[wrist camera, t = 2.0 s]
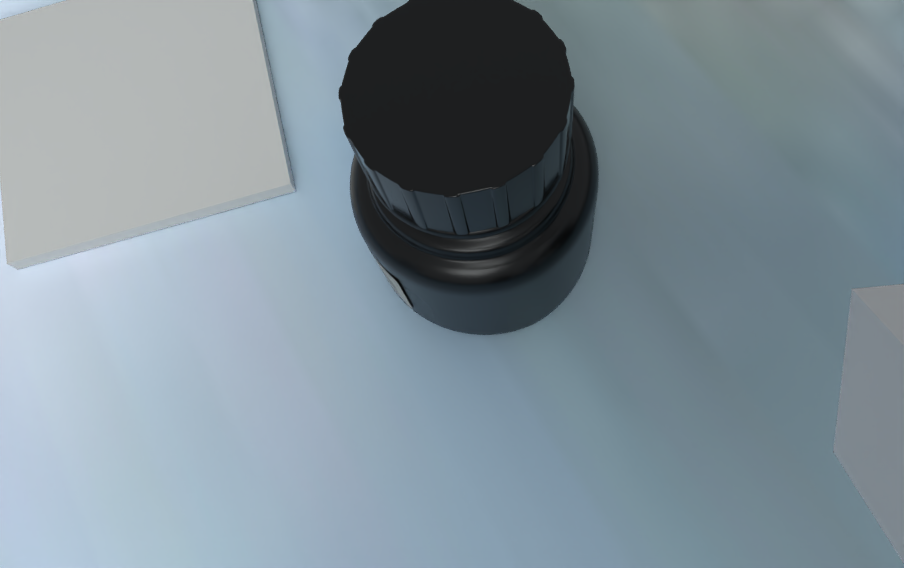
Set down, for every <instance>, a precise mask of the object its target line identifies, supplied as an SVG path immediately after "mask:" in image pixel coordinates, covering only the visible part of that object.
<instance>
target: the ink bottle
mask: <svg viewBox="0 0 904 568" xmlns="http://www.w3.org/2000/svg"><path fill="white" fill-rule="evenodd" d="M348 61H349V62H348V65H347V68H346V71H345V75H344V78H343V82H342V86H341V87H340V88H339V99H340V102H341V108H342V115H343V121H344V126H343V129H344V132H345V135H346V137H347V139H348V141H349V143H350V145H351V147H352V149H353V151H354V153H355V154H354V158H353V162H352V167H351V175H350V196H351V204H352V209H353V213H354V217H355V220H356V223H357V226H358V228H359V231H360V233H361V235H362V237H363V239H364V240H365V242H366V244H367V246H368V248H369V249H370V251H371V253H372V254H373V256H374V258H375V259H376V261H377V263H378V264H379V266H380V268H381V269H382V271H383V273H384V274H385V276H386V278H387V279H388V281H389V283H390V284H391V286H392V287H393V289H394V290H395V292H396V293H397V294H398V295H399V297H400V298H401V299H402V300H403V301H404V302H405V303H406V304H407V305H408V306H409V307H410V308H411V309H413V310H414V311H415V312H416V313H418V314H419V315H421V316H422V317H424V318H425V319H427V320H429V321H431V322H433V323H435V324H437V325H439V326H441V327H444V328H447V329H450V330H453V331H457V332H462V333H468V334H477V335H492V334H502V333H508V332H512V331H516V330H519V329H522V328H525V327H528V326H530V325H532V324H534V323H536V322H538V321H540V320H541V319H543V318H544V317H546V316H547V315H548V314H550V313H551V312H552V311H553V310H555V309H556V308H557V307H558V306H559V305H560V304H561V303H562V302H563V301H564V299H565V298H566V297H567V296H568V295H569V293H570V292H571V291H572V289H573V288H574V286H575V285H576V283H577V281H578V279H579V277H580V275H581V273H582V271H583V269H584V266H585V264H586V261H587V257H588V254H589V249H590V243H591V236H592V229H593V222H594V214H595V207H596V200H597V192H598V175H599V173H598V160H597V153H596V149H595V145H594V141H593V138H592V136H591V133H590V131H589V128H588V126H587V124H586V122H585V121H584V119H583V117H582V116H581V114H580V113H579V111H578V110H577V109H576V107H575V106H574V105H573V102H574V78H573V77H572V76H571V71H570V67H569V63H568V59H567V56H566V47H565V45H564V43H563V41H562V40H561V39H558V37H557V36H556V35H555V33H554V32H553V31H552V30H551V29H550V27H549V26H548V25H547V24H546V23H545V22H544V20H543V18H542V16H541V15H540V14H539V13H538V12H537V11H535V10H530V9H528V8H527V7H525V6H523V5H521V4H519V3H517V2H515V1H513V0H409V1H408V2H407V3H406V4H404V5H402V6H401V7H399V8H397V9H396V10H394V11H392V12H391V13H389V14H387V15H386V16H384V17H381V18H379V19H378V20H376V21H375V22H374V23H373V25H372V28H371V29H370V30H369V31H368V33H367V34H366V35H365V36H364V38H363V39H362V40H361V41H360V43H359V44H358V45H357V47H356V48H354V49H353V50H352V51H351V53H350V55H349V57H348Z"/></svg>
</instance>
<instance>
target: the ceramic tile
mask: <svg viewBox="0 0 904 568" xmlns="http://www.w3.org/2000/svg"><path fill="white" fill-rule="evenodd" d="M0 182H1V195H2V208H3V221H4V234H5V246H6V259H7V264H8V265H10V266H12V267H14V268H16V269H22V268H26V267H29V266H33V265H36V264H40V263H43V262H47V261H50V260H54V259H57V258H61V257H65V256H68V255H72V254H75V253H79V252H82V251H86V250H89V249H93V248H96V247H100V246H104V245H107V244H111V243H114V242H118V241H121V240H125V239H128V238H132V237H135V236H139V235H143V234H146V233H150V232H153V231H157V230H160V229H164V228H167V227H171V226H175V225H178V224H182V223H185V222H189V221H192V220H196V219H199V218H203V217H206V216H210V215H214V214H217V213H221V212H224V211H228V210H231V209H235V208H238V207H242V206H245V205H249V204H253V203H256V202H260V201H263V200H267V199H270V198H274V197H277V196H281V195H284V194H288V193H292V192H295V191H296V189H295V185H294V180H293V175H292V170H291V165H290V161H289V156H288V151H287V146H286V142H285V137H284V132H283V127H282V122H281V118H280V113H279V108H278V103H277V98H276V94H275V89H274V84H273V79H272V74H271V70H270V65H269V60H268V55H267V50H266V46H265V41H264V36H263V31H262V26H261V22H260V17H259V12H258V7H257V3H256V0H66V1H62V2H59V3H55V4H52V5H49V6H45V7H42V8H38V9H35V10H31V11H28V12H25V13H21V14H18V15H14V16H11V17H7V18H4V19H0Z"/></svg>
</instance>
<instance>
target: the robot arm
mask: <svg viewBox="0 0 904 568" xmlns="http://www.w3.org/2000/svg"><path fill="white" fill-rule="evenodd" d="M833 452H834V453H835V455H836V457H837V458H838V460H839V461H840V463H841V465H842V466H843V468H844V469H845V471H846V473H847V474H848V476H849V477H850V479H851V480H852V482H853V484H854V485H855V487H856V488H857V490H858V492H859V493H860V495H861V496H862V498H863V500H864V501H865V503H866V504H867V506H868V507H869V509H870V511H871V512H872V514H873V515H874V517H875V519H876V520H877V522H878V523H879V525H880V527H881V528H882V530H883V531H884V533H885V535H886V536H887V538H888V539H889V541H890V542H891V544H892V546H893V547H894V549H895V550H896V552H897V554H898V555H899V557H900V558H901V560H902V562H903V563H904V284H899V285H888V286H878V287H867V288H857V289H852V292H851V301H850V310H849V318H848V327H847V336H846V344H845V353H844V362H843V371H842V379H841V388H840V397H839V405H838V414H837V423H836V431H835V440H834V449H833Z"/></svg>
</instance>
